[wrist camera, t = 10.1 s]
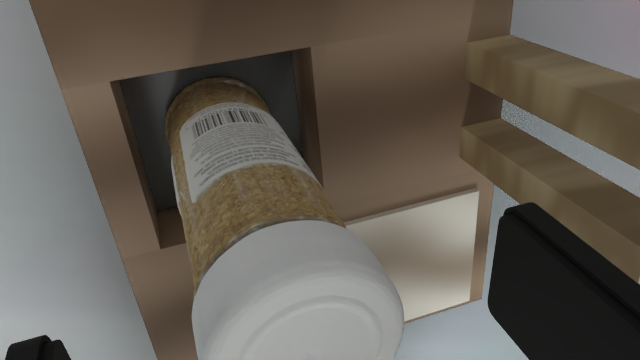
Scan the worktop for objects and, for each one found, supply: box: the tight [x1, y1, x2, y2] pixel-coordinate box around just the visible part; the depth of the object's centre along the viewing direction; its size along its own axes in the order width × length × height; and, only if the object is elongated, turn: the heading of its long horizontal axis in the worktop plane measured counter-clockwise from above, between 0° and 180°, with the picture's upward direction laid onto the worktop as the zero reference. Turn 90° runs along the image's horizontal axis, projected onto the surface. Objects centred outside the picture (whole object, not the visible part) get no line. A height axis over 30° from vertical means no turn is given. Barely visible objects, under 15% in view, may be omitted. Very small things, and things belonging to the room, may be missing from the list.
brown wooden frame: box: [29, 0, 640, 360], centre depth 17 cm, size 20×17×16 cm
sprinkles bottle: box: [165, 77, 404, 360], centre depth 16 cm, size 5×5×13 cm
